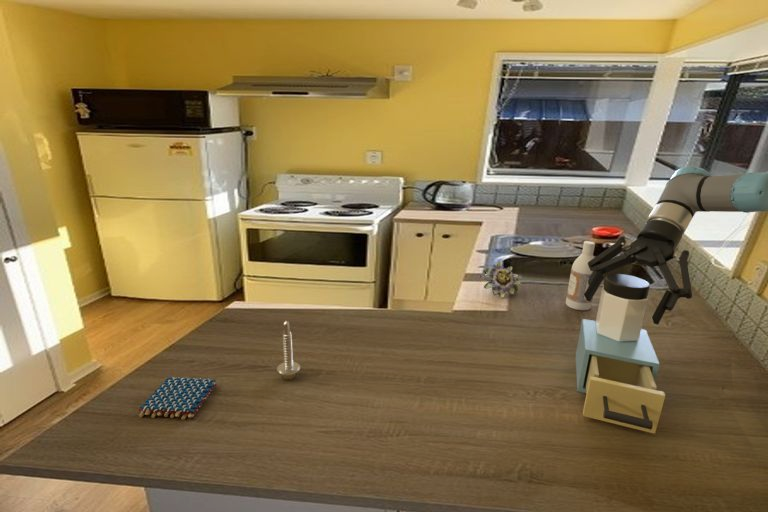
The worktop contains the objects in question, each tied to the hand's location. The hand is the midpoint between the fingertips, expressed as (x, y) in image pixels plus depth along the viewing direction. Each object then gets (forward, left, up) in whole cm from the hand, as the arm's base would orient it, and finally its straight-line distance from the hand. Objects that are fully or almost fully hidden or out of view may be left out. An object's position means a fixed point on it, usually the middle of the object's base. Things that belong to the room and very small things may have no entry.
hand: (618, 309), depth 88 cm
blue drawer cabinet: (-2, 0, -16) cm, 16 cm away
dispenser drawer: (-13, +7, -15) cm, 21 cm away
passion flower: (+46, +5, -16) cm, 49 cm away
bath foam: (+34, -15, -16) cm, 41 cm away
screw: (+6, +68, -16) cm, 70 cm away
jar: (+1, -1, -6) cm, 7 cm away
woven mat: (0, +88, -16) cm, 90 cm away
